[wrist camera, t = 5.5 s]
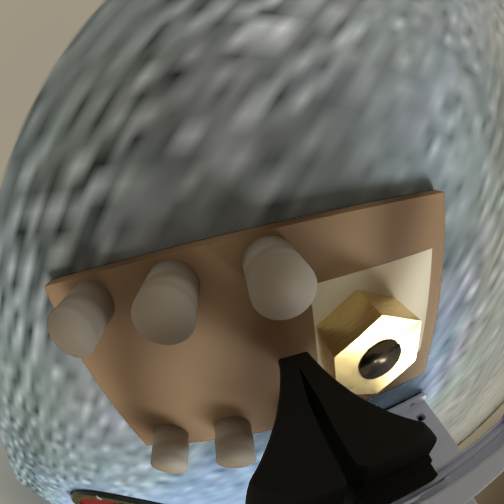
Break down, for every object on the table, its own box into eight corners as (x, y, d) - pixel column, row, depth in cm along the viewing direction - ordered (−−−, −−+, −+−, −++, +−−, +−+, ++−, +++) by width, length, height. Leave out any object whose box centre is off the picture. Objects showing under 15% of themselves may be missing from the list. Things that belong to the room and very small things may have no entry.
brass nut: (312, 303, 12) (333, 335, 10) (394, 275, 12) (424, 298, 10) (322, 378, 14) (338, 410, 11) (391, 351, 14) (412, 377, 12)
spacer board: (434, 190, 12) (481, 201, 9) (418, 366, 16) (442, 395, 13) (51, 280, 11) (16, 313, 8) (147, 436, 15) (142, 474, 12)
